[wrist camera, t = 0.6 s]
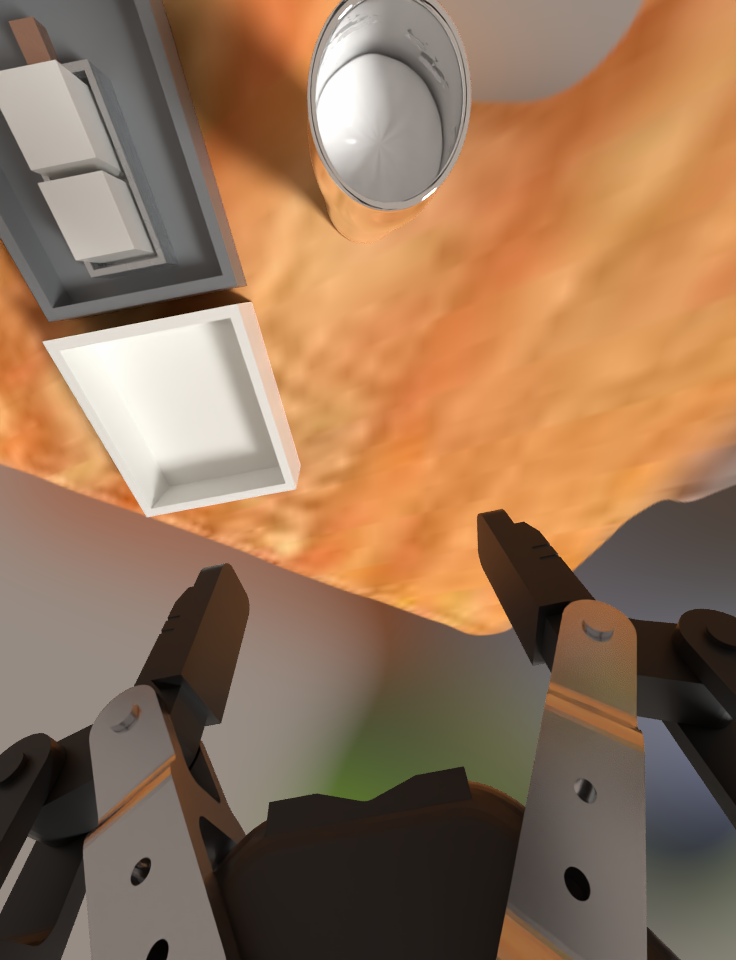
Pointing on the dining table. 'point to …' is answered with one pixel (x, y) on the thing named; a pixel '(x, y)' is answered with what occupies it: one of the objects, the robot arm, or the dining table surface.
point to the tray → (161, 148)
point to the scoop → (41, 50)
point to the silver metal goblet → (385, 111)
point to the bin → (184, 407)
